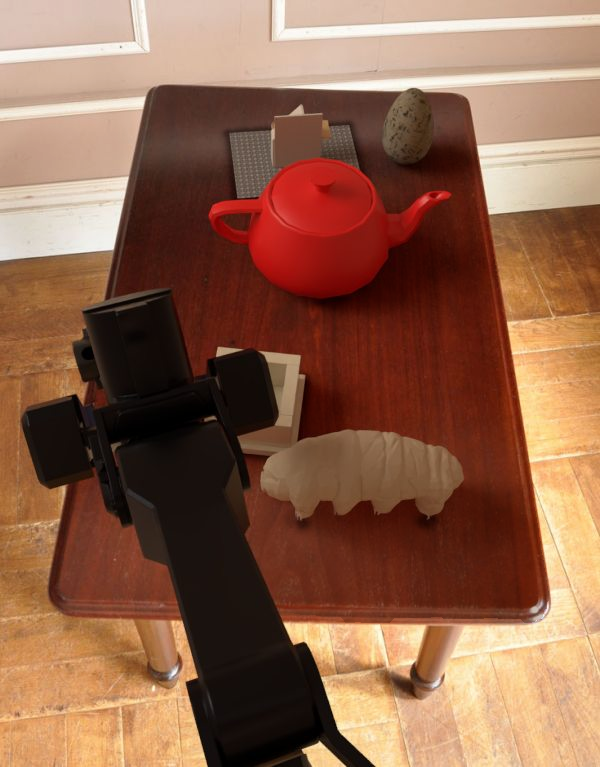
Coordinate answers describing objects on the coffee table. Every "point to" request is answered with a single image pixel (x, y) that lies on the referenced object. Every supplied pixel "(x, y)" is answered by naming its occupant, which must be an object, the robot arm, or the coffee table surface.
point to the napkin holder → (286, 149)
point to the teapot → (321, 228)
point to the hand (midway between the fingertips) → (145, 395)
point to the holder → (288, 401)
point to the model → (361, 472)
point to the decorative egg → (408, 128)
